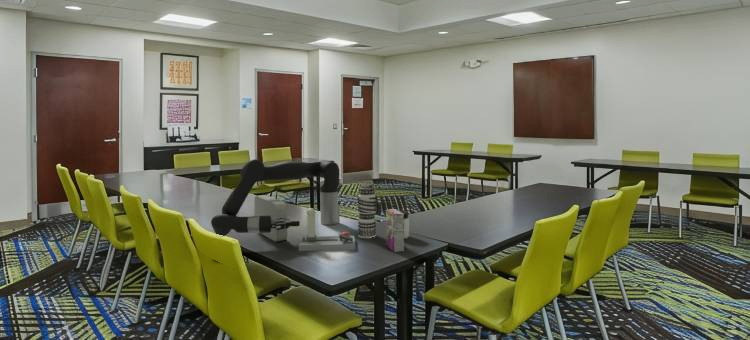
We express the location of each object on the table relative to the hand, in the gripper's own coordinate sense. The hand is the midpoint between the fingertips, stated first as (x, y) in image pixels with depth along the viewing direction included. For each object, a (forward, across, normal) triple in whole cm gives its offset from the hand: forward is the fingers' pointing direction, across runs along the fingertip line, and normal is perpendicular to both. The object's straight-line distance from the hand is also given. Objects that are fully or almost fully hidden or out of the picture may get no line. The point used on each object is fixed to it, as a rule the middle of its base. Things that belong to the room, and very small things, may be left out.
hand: (299, 223), depth 206 cm
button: (+20, +4, +8) cm, 22 cm away
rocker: (+20, -4, +6) cm, 21 cm away
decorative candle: (+30, +15, +11) cm, 36 cm away
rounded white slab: (-16, +21, +11) cm, 28 cm away
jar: (+46, +12, +11) cm, 49 cm away
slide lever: (+5, 0, +7) cm, 9 cm away
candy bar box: (+41, -7, +11) cm, 43 cm away
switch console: (+12, 0, +10) cm, 16 cm away
